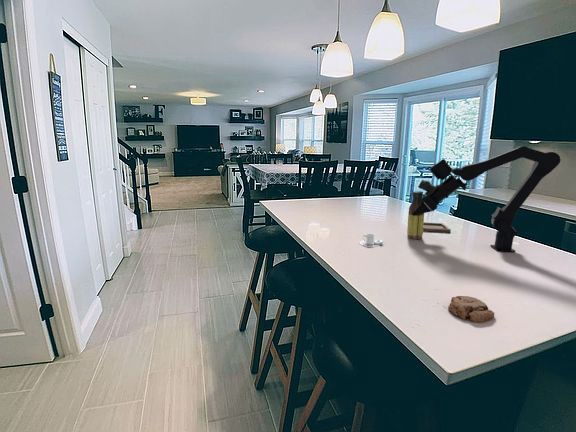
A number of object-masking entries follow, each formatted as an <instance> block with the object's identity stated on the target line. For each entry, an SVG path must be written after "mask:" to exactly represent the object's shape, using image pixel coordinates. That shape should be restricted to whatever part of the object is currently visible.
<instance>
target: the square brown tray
mask: <svg viewBox="0 0 576 432" xmlns="http://www.w3.org/2000/svg"><path fill="white" fill-rule="evenodd" d="M426 231H428V232H429V233H430V232H431V233H443V232H445V233H447V234H451V228H449V227H448V226H447V225H445V224H444V223H443V222H425V221H424V225H423V232H426Z"/></svg>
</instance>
